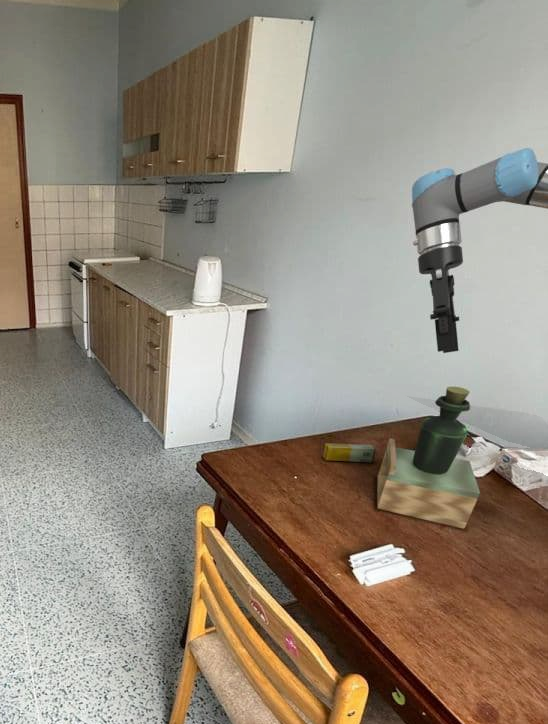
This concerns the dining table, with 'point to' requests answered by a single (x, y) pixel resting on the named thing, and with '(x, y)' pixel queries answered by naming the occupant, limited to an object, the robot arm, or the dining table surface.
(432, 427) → the potion bottle
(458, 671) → the dining table surface
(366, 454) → the medication box
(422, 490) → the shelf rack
